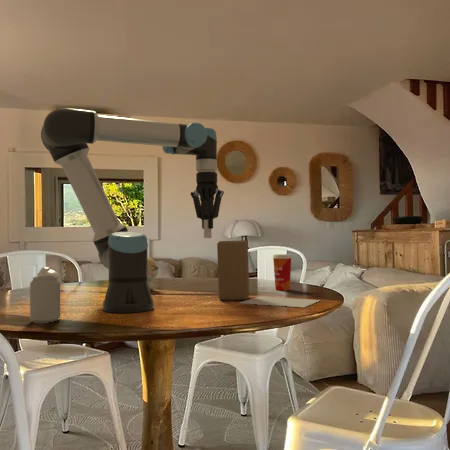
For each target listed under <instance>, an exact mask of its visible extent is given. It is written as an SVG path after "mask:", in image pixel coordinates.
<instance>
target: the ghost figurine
mask: <svg viewBox="0 0 450 450" xmlns="http://www.w3.org/2000/svg"><path fill="white" fill-rule="evenodd" d="M37 276H57V279H58V280H59V281H60V284H62V278H61V275H60V273H59V272H57V271H56V270H54V269H51V268H50V267H49V266H48V267H47V266H44V267H41V269H40V270H39V271H38V273H37ZM37 276H36V277H37Z"/></svg>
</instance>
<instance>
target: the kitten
mask: <svg viewBox="0 0 450 450" xmlns="http://www.w3.org/2000/svg"><path fill="white" fill-rule="evenodd" d="M147 267H148V276H147V277H148V286H149V289H150V292H154V291H155V289H156V288H155V284H154V282H153V280H154V279H155V278H157V276H158V273H159V269H160V268H159V266H158V265H157V262H156V260H155V259H153V258H152V257H150V256H147Z"/></svg>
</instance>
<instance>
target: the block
mask: <svg viewBox="0 0 450 450" xmlns="http://www.w3.org/2000/svg"><path fill="white" fill-rule="evenodd" d="M216 246H217V247H216V248H217V249H216V250H217V251H216V252H217V277H218V278H217V279H218V298H219V300H220V301H246V300H249V297H250V294H251V293H250V270H249V269H250V268H249V266H250V265H249V242H248V241H247V240H243V239H242V240H219V241H218V242H217V244H216Z"/></svg>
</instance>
